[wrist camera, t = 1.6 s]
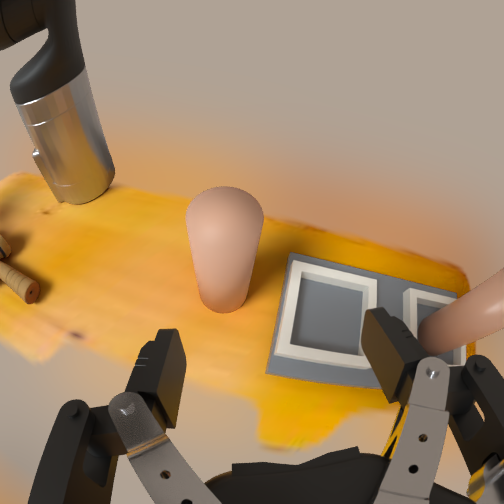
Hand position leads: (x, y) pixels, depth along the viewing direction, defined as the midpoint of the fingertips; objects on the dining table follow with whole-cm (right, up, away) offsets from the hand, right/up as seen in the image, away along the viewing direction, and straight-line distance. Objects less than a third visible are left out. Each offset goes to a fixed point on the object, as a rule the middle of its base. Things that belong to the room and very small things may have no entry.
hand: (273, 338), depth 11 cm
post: (-4, 0, +18) cm, 18 cm away
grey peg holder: (+13, -5, +17) cm, 22 cm away
